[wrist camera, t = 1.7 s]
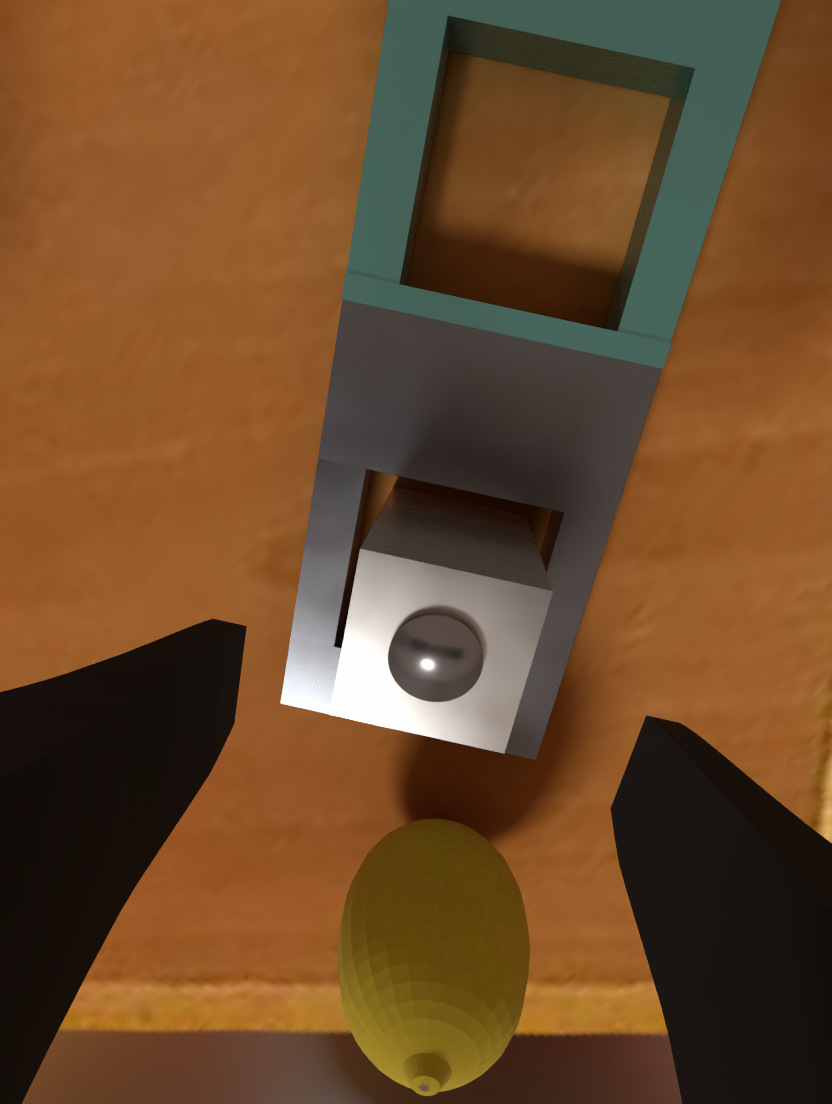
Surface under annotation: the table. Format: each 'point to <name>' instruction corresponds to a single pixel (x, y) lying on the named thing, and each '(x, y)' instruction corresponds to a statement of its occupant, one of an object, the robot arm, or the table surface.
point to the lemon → (433, 955)
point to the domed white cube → (442, 621)
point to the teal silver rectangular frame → (514, 311)
